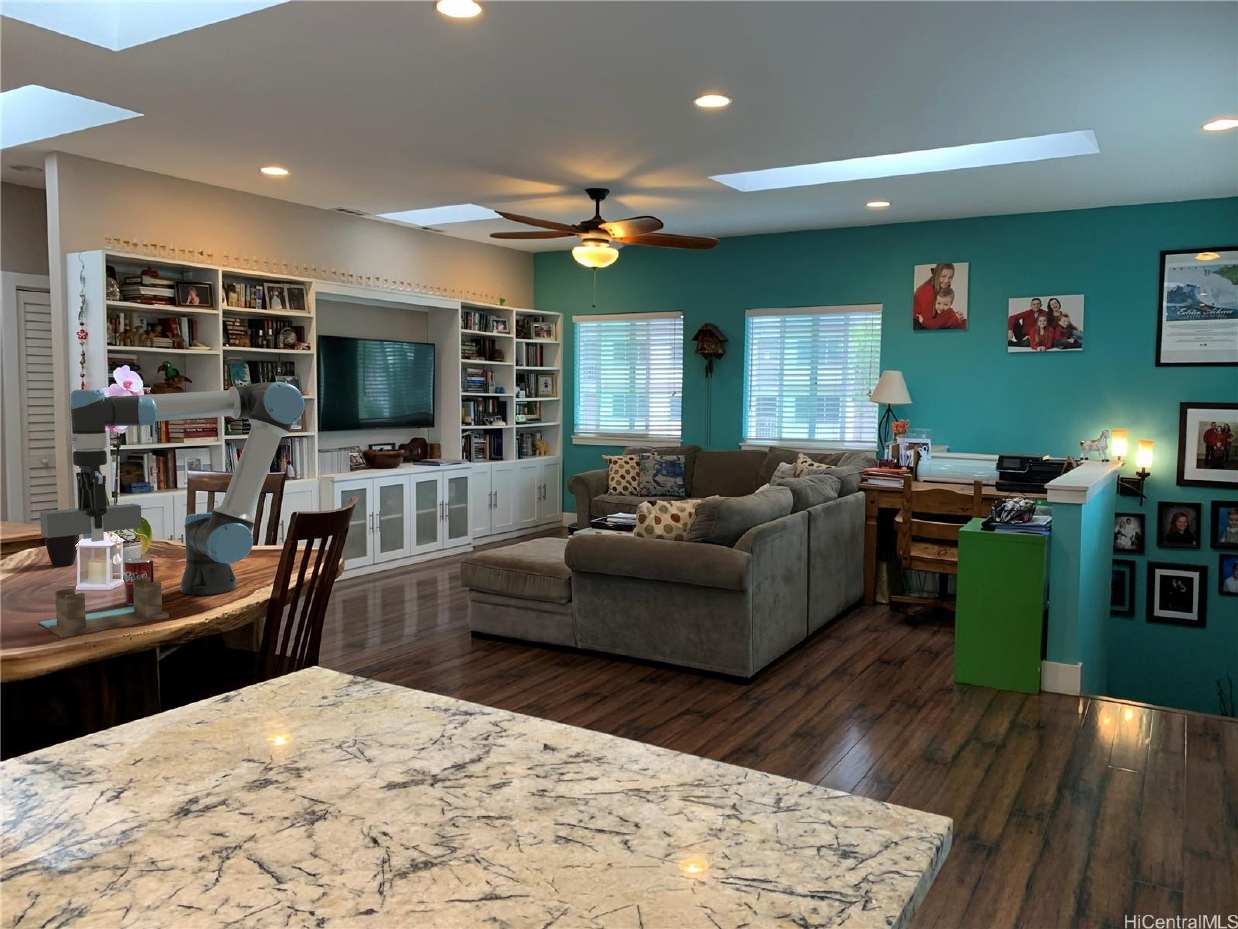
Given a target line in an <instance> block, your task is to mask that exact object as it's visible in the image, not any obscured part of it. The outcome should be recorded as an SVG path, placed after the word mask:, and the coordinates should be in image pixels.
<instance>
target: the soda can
mask: <svg viewBox="0 0 1238 929" xmlns="http://www.w3.org/2000/svg"><path fill="white" fill-rule="evenodd" d="M154 563H155V562H154V560H153V558H151V557H137V558H136V557H135V558H130V559H126V560H125V561H124V562H123V570H124V574H123V576H124V599H125V602H124V603H126V604H127V605H128V606H134V594H133V580H134V579H140V578H147V577H150V583H151V582H155V564H154Z"/></svg>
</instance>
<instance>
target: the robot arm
mask: <svg viewBox="0 0 1238 929" xmlns="http://www.w3.org/2000/svg"><path fill="white" fill-rule="evenodd" d="M305 407H306V406H305V397H303V395H302V392H301V391H300V390H299V389H298V388H297V387H296V386H294V385H292V384H290V383H286V382H283V381H276V382H275V381H273V382H271V381H269V382H268V381H267V382H266V381H263V382H258V383H251V384H248V385H247V384H246V385H240V386H230V387H229V388H228V390H211V391H195V392H192V391H190V392H176V393H175V392H174V393H173V392H172V393H171V392H170V393H156V394H155V393H154V394H152V393H151V394H137V395H110V396H106V395H105V391H104V390H103V389H74V390H72V391H71V393H70V407H69V409H70V415H71V416H70V418H71V419H70V420H71V435H72V437H70V438H69V440H70V442H72V449H74V451H73V452H72V464H73V466H75V467H80V472H76V473H75V476H76V482H77V488H76V490H77V509H79V508H90V507H91V511H92V514H89V517H90V520H91V533H90V534H82V539H83V540H87V539H88V540H89V539H91V542H92V543H93V542H95V543H96V542H101V541H102V542H103V541H105V532H104V529H103V515H104V514H106V513H107V509H106V506H107V493H106V492H107V491H106V490H107V489H106V481H107V477H106V475H103V473H102V471H101V468H100V467H101V466H105V465H107V464H108V455H107V454H108V453H107V451H106V450H105V449H106V448H107V446H108V445H107V430H106V428H107V427H134V426H136V427H144V426H153V425H154V424H155V422H164V421H176V420H190V419H192V420H193V419H205V418H220V417H231V418H232V419H233V420H240V419H245V420H247V419H248V423H249V424H250V426H251V427H250V430H249V433H248V435H247V438H246V441H245V444H244V446H243V448H242V452H241V453H240V457H239V458H238V461H237V463H236V467H235V469H234V471H233V474H232V476H231V480H230V481H229V484H228V487H227V489H226V492H225V495H224V497H223V499H222V503H221V505H219V506H218V507H214V508H213V510H212V512H203V513H202V512H201V513H192V514H188V515H186V516H185V520H184V525H183V526H184V536H185V564H186V565H185V568H184V571H183V575H182V578H181V581H180V584H179V586H180V588H179V590H180V593H181V594H184V595H192V596H202V595H203V596H207V595H209V596H210V595H218V594H223V593H229V592H231V591H234V590H235V589H237V578H236V576H235V574H234V571H233V568H232V565H231V564H235V563H238V562H240V561H242V560H244V559H245V558H246V557H247V556H248V555H249V554H250V552H251V551H252V549H253V545H254V536H253V533H252V532H253V529H254V527H255V523H256V522H255V519H254V517H253V513H254V510H255V508H256V504H257V502H258V500H259V496H260V494H261V492H262V489H263V486H264V483H265V481H266V478H267V476H268V473H269V472H270V468H271V466H272V462H273V460H274V458H275V456H276V455H275V454H276V453H277V450H278V447H279V444H280V442H281V439H282V437H284V436H288V435H289V433H290V431H291V429H292V427H293V424H294V423H295V422H296V421H298V420H299V419H300V418H301V417H302V416H303V414H304V411H305Z"/></svg>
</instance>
